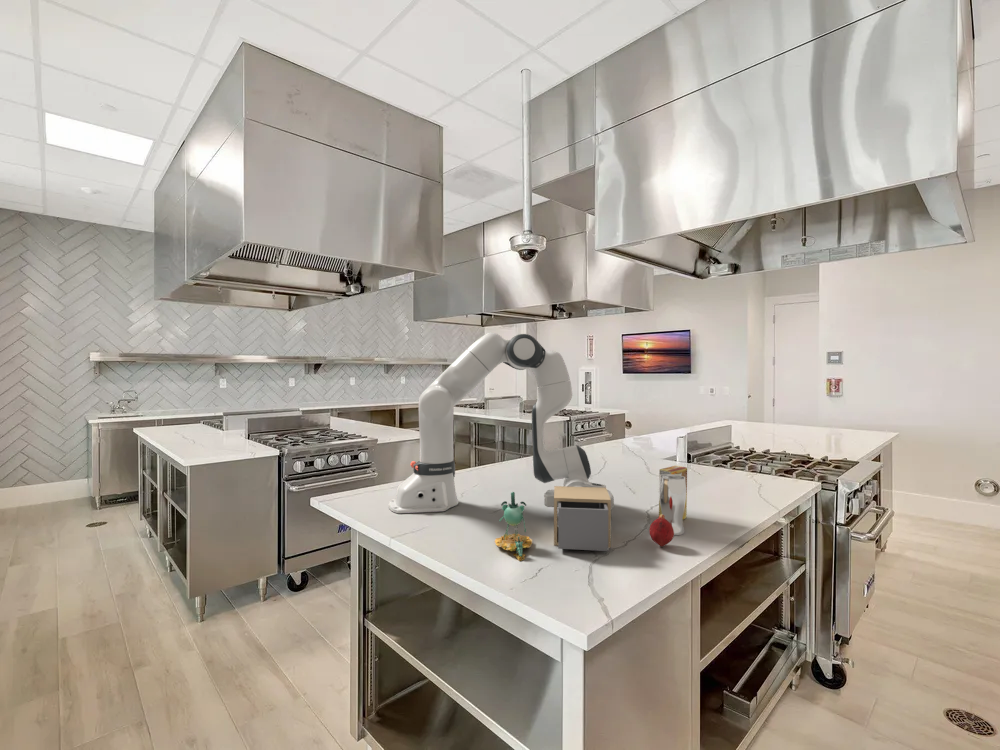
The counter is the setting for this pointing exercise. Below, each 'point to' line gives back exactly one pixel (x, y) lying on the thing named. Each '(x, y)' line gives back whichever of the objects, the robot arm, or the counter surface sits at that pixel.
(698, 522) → the counter surface
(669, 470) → the candy box
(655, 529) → the onion
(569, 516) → the grey open box
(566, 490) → the sleeve
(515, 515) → the frog figurine
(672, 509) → the beer glass
